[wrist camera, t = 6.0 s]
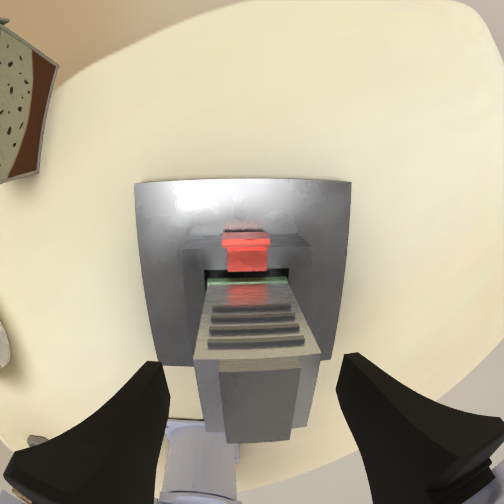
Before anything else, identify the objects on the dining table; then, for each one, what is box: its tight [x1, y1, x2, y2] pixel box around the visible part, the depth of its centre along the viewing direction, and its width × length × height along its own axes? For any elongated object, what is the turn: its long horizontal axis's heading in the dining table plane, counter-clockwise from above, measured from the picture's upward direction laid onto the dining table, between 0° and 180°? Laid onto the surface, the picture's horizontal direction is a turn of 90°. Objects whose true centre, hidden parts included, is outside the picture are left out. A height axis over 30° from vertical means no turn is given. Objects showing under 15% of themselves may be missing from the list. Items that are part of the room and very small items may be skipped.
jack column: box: [193, 276, 321, 444], centre depth 11 cm, size 4×4×7 cm
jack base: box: [134, 178, 351, 367], centre depth 17 cm, size 14×14×5 cm
